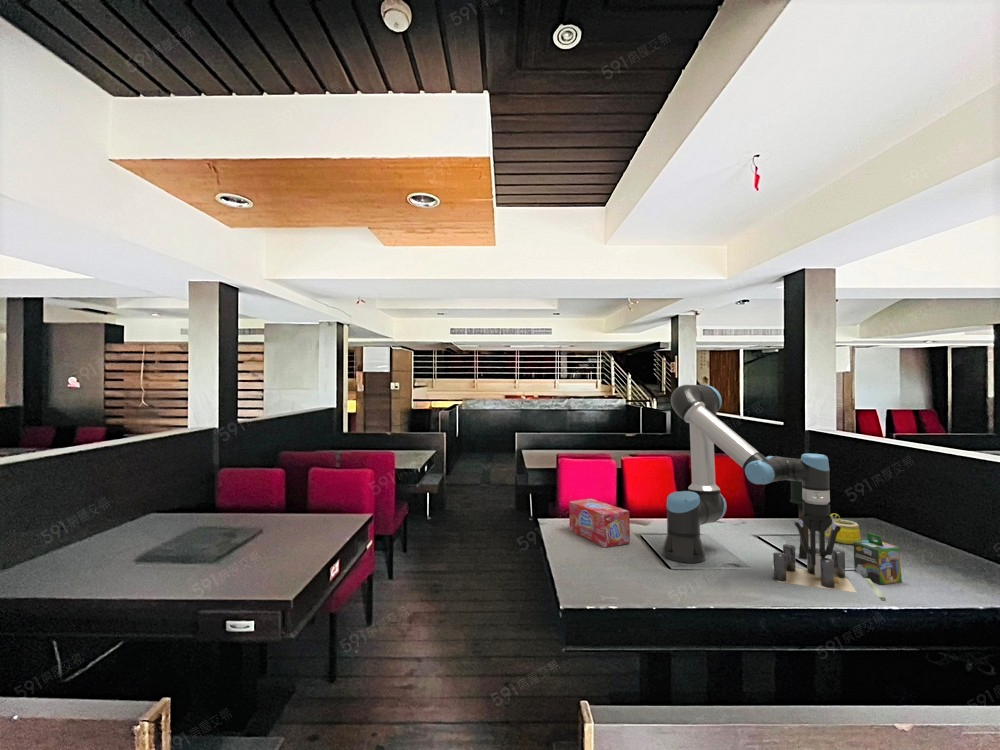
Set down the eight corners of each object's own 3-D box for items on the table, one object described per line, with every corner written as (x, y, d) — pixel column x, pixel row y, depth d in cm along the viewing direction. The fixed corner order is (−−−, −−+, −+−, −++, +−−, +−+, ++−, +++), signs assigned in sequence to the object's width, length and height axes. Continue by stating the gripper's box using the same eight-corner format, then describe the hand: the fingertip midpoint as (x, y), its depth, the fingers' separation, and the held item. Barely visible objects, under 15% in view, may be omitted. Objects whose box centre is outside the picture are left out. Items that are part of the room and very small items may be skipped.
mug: (859, 540, 204) (859, 511, 204) (862, 547, 194) (861, 517, 195) (823, 535, 211) (822, 507, 211) (823, 542, 201) (822, 512, 202)
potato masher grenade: (823, 565, 174) (821, 480, 175) (796, 563, 176) (794, 479, 177) (812, 557, 183) (811, 476, 184) (787, 555, 185) (785, 475, 186)
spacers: (774, 580, 157) (773, 555, 157) (769, 565, 170) (769, 542, 171) (855, 591, 148) (854, 564, 149) (843, 574, 162) (843, 550, 162)
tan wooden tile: (822, 581, 156) (822, 575, 156) (819, 576, 160) (819, 570, 160) (839, 583, 154) (838, 577, 154) (835, 578, 158) (835, 572, 158)
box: (568, 530, 218) (567, 500, 219) (592, 527, 224) (592, 497, 224) (604, 548, 194) (604, 514, 194) (631, 544, 199) (630, 510, 199)
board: (777, 586, 156) (777, 581, 156) (772, 569, 171) (772, 565, 171) (885, 601, 145) (885, 596, 145) (869, 581, 159) (869, 577, 159)
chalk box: (902, 583, 158) (901, 537, 159) (880, 585, 156) (878, 539, 157) (874, 572, 167) (873, 529, 168) (853, 575, 165) (852, 530, 166)
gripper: (794, 502, 158) (796, 576, 157) (842, 506, 153) (845, 582, 152) (791, 498, 165) (793, 568, 164) (837, 501, 160) (839, 574, 159)
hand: (818, 575), depth 158 cm, fingers closed
